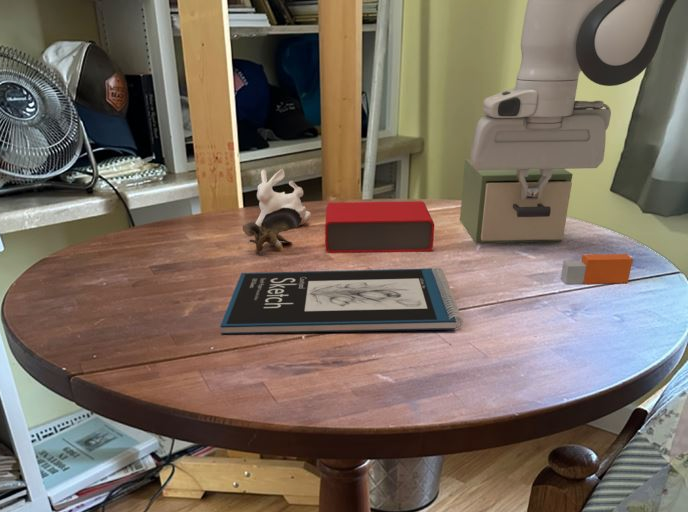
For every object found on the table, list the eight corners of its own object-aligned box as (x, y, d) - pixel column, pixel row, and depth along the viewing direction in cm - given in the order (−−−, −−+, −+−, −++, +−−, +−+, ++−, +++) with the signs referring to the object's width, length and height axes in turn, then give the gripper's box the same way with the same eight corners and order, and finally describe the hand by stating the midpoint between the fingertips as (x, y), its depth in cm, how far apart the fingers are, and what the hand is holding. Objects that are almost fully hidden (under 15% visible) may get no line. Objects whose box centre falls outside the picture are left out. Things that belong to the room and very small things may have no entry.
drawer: (571, 247, 113) (581, 189, 108) (487, 249, 113) (494, 190, 109) (539, 217, 131) (546, 165, 126) (466, 218, 131) (470, 167, 126)
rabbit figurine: (247, 231, 130) (243, 174, 124) (247, 221, 136) (243, 167, 131) (312, 228, 131) (310, 172, 125) (309, 218, 137) (307, 165, 131)
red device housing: (424, 229, 128) (425, 201, 125) (432, 251, 116) (434, 220, 114) (326, 231, 129) (326, 202, 126) (325, 252, 117) (325, 221, 114)
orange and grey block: (621, 277, 103) (626, 253, 101) (627, 283, 101) (633, 258, 99) (560, 278, 103) (564, 254, 101) (565, 284, 101) (569, 260, 99)
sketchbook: (241, 281, 105) (240, 268, 104) (442, 279, 104) (443, 265, 103) (221, 335, 87) (219, 318, 86) (463, 332, 86) (464, 315, 85)
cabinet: (561, 241, 120) (572, 173, 114) (475, 243, 120) (482, 175, 114) (537, 218, 134) (545, 157, 128) (459, 219, 134) (464, 158, 128)
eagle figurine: (284, 252, 113) (312, 229, 119) (257, 213, 111) (287, 191, 116) (256, 270, 119) (284, 247, 124) (230, 233, 116) (260, 212, 122)
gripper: (606, 98, 107) (589, 193, 115) (473, 100, 107) (464, 195, 115) (620, 102, 102) (601, 202, 110) (480, 104, 102) (471, 204, 110)
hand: (530, 198), depth 112 cm, fingers closed
